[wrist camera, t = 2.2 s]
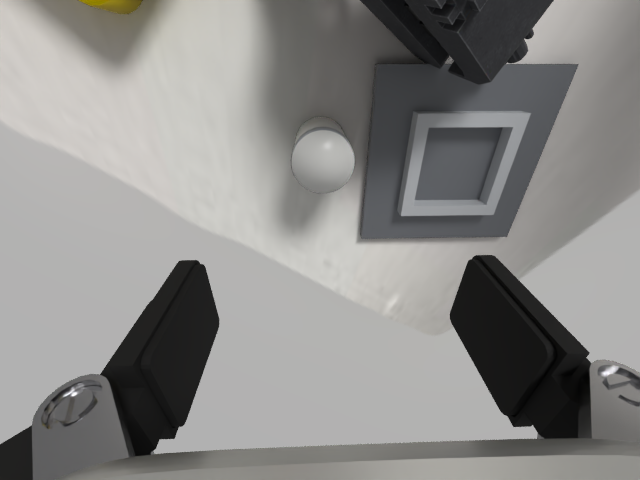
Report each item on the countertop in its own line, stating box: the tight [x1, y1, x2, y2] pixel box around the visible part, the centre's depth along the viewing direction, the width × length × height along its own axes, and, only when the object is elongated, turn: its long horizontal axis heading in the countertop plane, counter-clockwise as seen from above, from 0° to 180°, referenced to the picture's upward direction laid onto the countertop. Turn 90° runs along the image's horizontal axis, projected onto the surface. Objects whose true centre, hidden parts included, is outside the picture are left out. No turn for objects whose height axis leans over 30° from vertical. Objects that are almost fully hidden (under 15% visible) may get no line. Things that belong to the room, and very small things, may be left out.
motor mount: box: [360, 64, 579, 239], centre depth 29 cm, size 18×18×2 cm
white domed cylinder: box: [291, 117, 355, 193], centre depth 26 cm, size 5×5×7 cm
